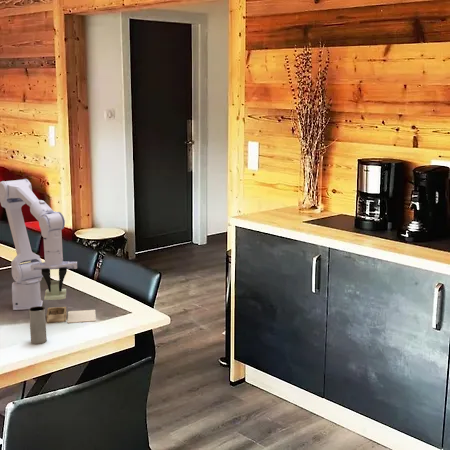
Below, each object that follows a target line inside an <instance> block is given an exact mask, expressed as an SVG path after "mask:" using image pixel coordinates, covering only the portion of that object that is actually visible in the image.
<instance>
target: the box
mask: <svg viewBox="0 0 450 450" xmlns="http://www.w3.org/2000/svg"><path fill="white" fill-rule="evenodd" d="M67 316H68V312H67V306H58V307H57V306H55V307H54V306H53V307H47V309H46V314H45V317H46V324H53V323H55V324H56V323H67Z"/></svg>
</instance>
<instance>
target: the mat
mask: <svg viewBox="0 0 450 450" xmlns="http://www.w3.org/2000/svg"><path fill="white" fill-rule="evenodd" d="M96 321H97V316H96V309H86V310H85V309H84V310H71V311H68V312H67V320H66V323H67V324H75V323H76V324H77V323H91V322H96Z"/></svg>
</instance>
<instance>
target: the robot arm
mask: <svg viewBox="0 0 450 450" xmlns="http://www.w3.org/2000/svg"><path fill="white" fill-rule="evenodd" d="M24 205H27V206H28V207H29V211H30V214H31V215H32V216H33V217H34V218H35V219H36V220H37V221H38V226H39V229H40V233H41V237H43V252H44V262H43V261H42V259H41V256H40V255H39V254H36V252H33V251H32V247H31V244H30V239H29V235H28V230H27V226H26V223H25V219H24V215H23V212H22V211H23V210H22V207H23V206H24ZM0 206H1V207H2V208H4V209H5V212H6V213H5V214H6V217H7V221H8V225H9V228H10V233H11V236H12V240H13V244H14V247H15V251H16V256H15V257H14V258H13V259H12V261H10V262H11V263H10V265H11V276H12V278H13V280H14V281H13V282H12V283H11V297H12V298H11V299H12V300H11V303H12V311H22V310H29V309H30V308H31V307H36V306H42V307H43V304H44V301H43V300H44V299H43V300H42V297H41V296H42V295H41V293H42V292H41V281H42V278H44V280H45V283H46V284H47V288H48V289H47V290H49V292H51V281H52V280H51V270H58V280H59V291H62V289H63V288H62V287H63V283H64V279H65V277H66V275H67V271H68V269H75V270H76V269H78V261H69V260H68V261H66V260H65V261H64V257H63V256H64V255H63V238H62V237H63V236H62V235H63V234H62V230H64V228H65V226H66V224H65V222H66V220H65V217H64V215H63V214H62V212H60V211H54V209H52V208H51V207H50V205H49V204H47V202H46V201H44V200H42V199H39V198H38V197H37V196H36V194H35V193H34V192H33V187H32V182H30V180H29V179H27V178H23V179H16V180H13V179H12V180H6V181H5V180H2V181H0Z"/></svg>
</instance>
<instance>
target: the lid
mask: <svg viewBox="0 0 450 450" xmlns="http://www.w3.org/2000/svg"><path fill="white" fill-rule="evenodd" d="M65 299H67V288H62V291H59V279H58V280H51V292H49V289H46V290H45V293H44V299H43V300H44V301H57V300H58V301H61V300H65Z"/></svg>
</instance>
